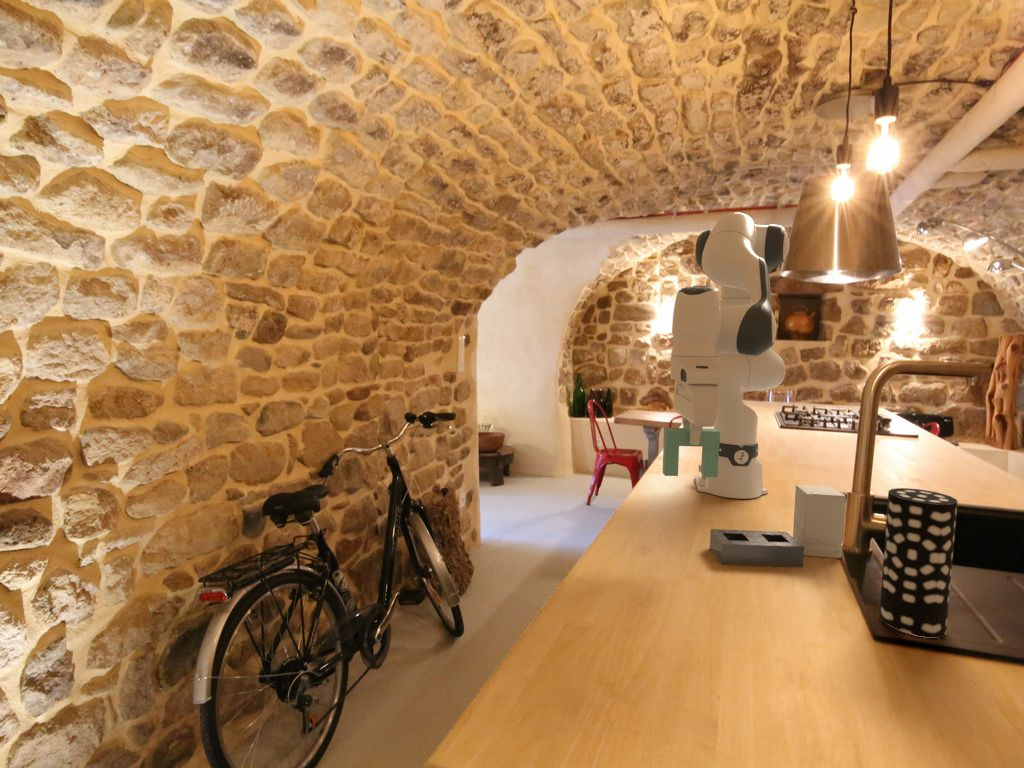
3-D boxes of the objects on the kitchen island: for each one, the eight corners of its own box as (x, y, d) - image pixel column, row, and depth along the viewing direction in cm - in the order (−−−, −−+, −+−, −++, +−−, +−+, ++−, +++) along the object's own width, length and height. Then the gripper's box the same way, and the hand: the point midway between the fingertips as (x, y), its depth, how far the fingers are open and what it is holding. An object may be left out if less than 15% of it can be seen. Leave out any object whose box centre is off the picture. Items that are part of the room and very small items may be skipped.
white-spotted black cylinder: (886, 605, 91) (895, 485, 90) (950, 624, 86) (961, 496, 84) (873, 623, 86) (882, 495, 84) (940, 645, 80) (952, 508, 78)
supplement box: (843, 559, 110) (847, 496, 109) (802, 555, 112) (805, 493, 110) (829, 545, 117) (833, 485, 116) (791, 542, 119) (794, 483, 118)
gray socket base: (709, 548, 115) (710, 529, 115) (785, 550, 114) (786, 531, 114) (721, 564, 107) (722, 543, 107) (802, 567, 106) (804, 546, 106)
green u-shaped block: (662, 472, 112) (663, 427, 111) (713, 473, 111) (715, 428, 110) (665, 476, 109) (666, 430, 108) (717, 477, 108) (720, 431, 107)
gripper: (667, 366, 119) (664, 431, 120) (689, 375, 98) (686, 452, 100) (697, 367, 118) (695, 431, 120) (726, 375, 98) (722, 453, 99)
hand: (691, 441), depth 110 cm, fingers closed on green u-shaped block, 3 cm apart
